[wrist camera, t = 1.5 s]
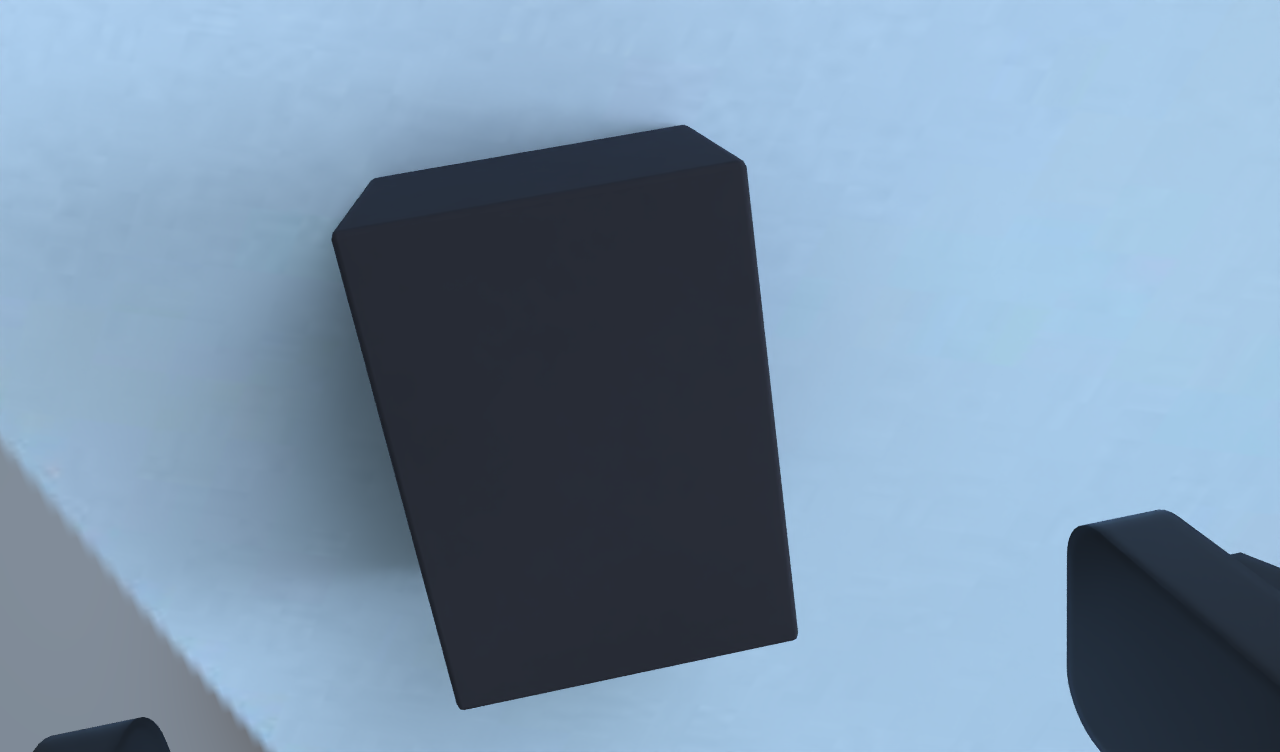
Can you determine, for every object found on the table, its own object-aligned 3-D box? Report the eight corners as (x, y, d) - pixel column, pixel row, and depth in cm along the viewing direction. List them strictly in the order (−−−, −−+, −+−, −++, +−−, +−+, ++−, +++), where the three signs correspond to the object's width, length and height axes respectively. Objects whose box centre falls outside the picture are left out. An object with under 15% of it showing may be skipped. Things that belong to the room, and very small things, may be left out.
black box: (369, 178, 15) (327, 233, 12) (688, 122, 16) (747, 159, 12) (466, 566, 18) (457, 714, 14) (738, 511, 18) (800, 641, 14)
